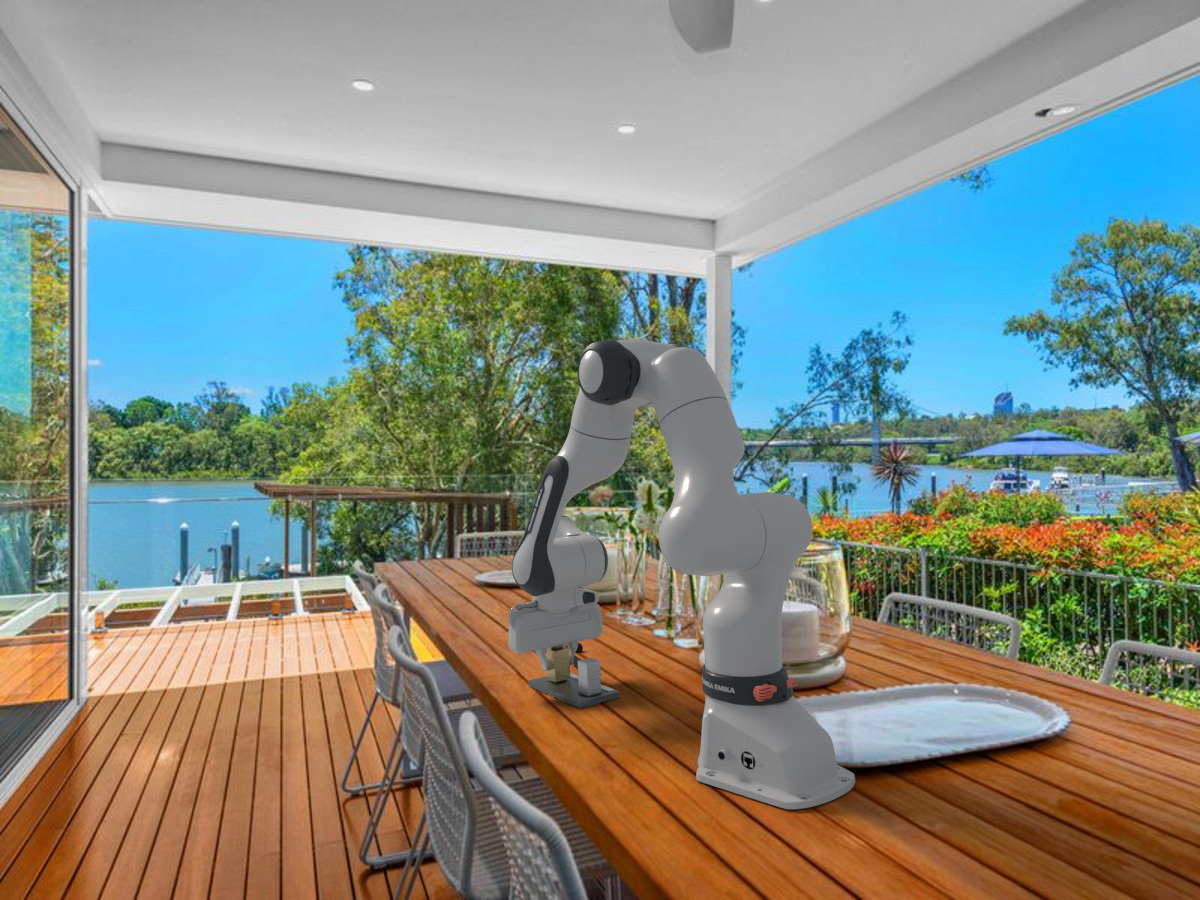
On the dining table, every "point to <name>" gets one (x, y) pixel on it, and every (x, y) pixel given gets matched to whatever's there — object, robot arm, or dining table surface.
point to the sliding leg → (558, 663)
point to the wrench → (576, 656)
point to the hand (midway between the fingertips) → (557, 667)
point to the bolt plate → (570, 692)
